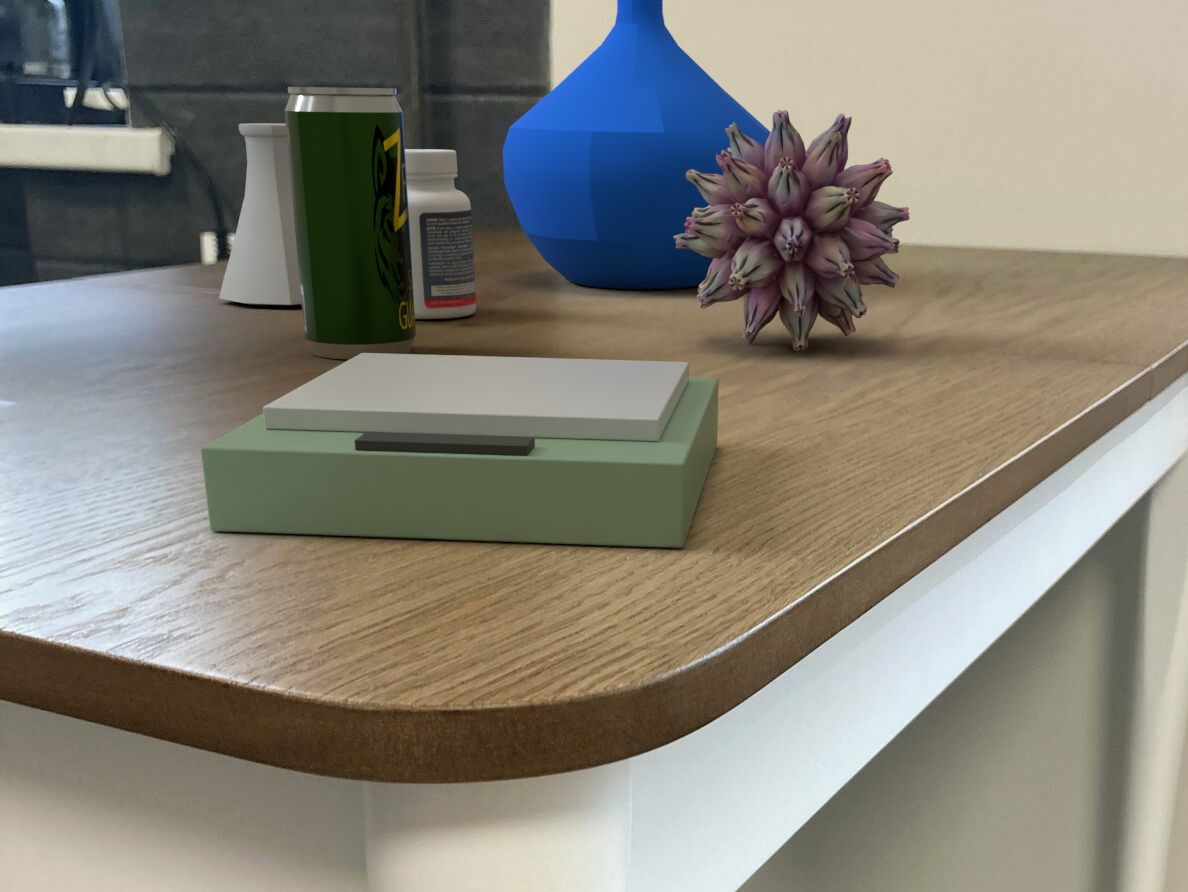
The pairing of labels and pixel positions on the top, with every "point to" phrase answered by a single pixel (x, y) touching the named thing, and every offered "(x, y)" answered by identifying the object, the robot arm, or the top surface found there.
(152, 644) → the top surface
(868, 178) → the flower
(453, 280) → the pill bottle
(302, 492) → the scale
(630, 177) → the vase
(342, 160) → the beer can
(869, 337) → the top surface
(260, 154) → the flask
